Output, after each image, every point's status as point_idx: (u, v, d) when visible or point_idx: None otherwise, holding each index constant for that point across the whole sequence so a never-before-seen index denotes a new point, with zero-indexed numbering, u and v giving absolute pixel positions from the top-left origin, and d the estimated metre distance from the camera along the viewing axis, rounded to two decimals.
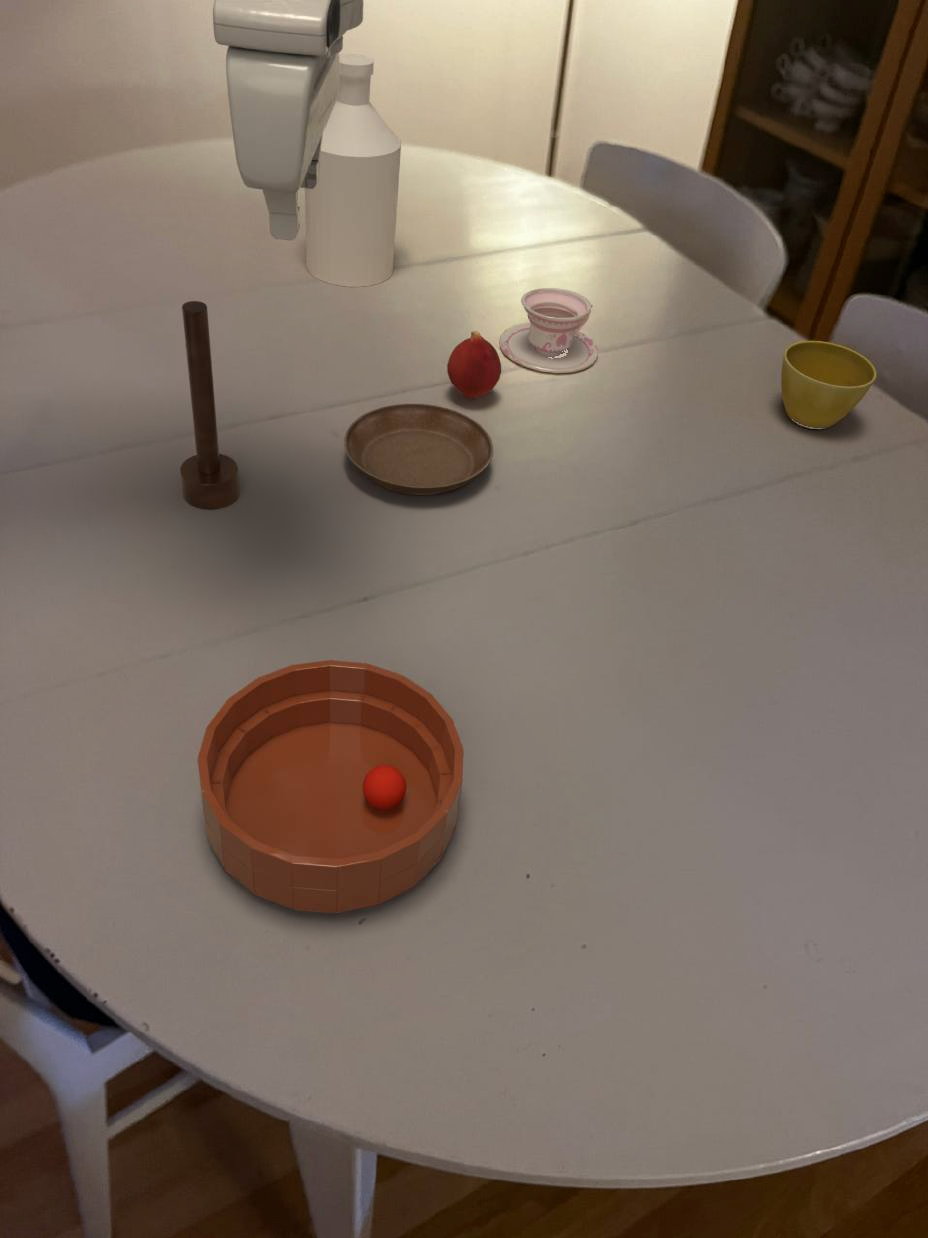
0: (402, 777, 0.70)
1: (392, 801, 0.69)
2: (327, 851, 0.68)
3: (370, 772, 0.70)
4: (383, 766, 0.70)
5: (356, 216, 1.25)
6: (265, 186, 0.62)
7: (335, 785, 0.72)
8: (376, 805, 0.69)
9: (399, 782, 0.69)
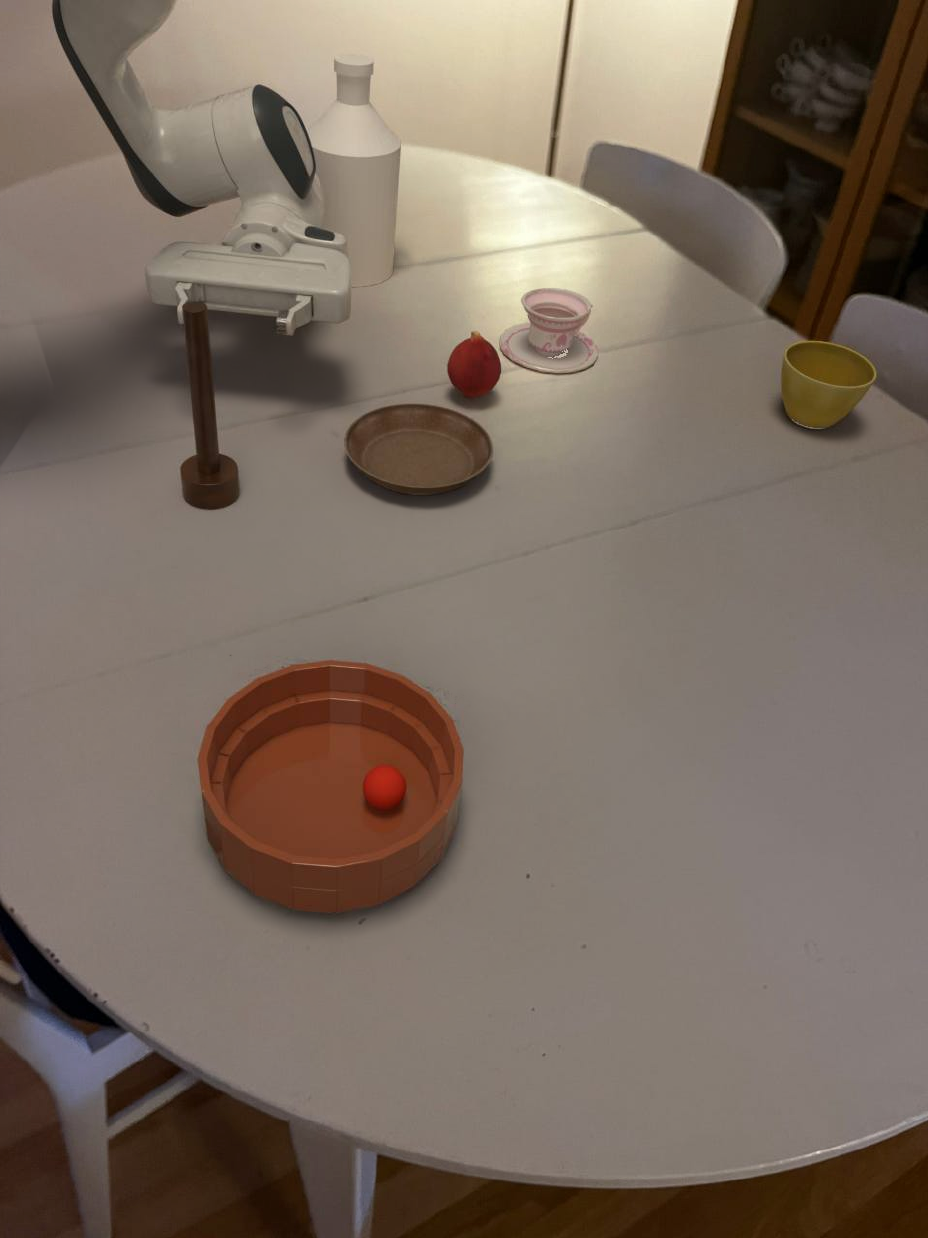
0: (402, 777, 0.70)
1: (392, 801, 0.69)
2: (327, 851, 0.68)
3: (370, 772, 0.70)
4: (383, 766, 0.70)
5: (356, 216, 1.25)
6: (344, 305, 1.00)
7: (335, 785, 0.72)
8: (376, 805, 0.69)
9: (399, 782, 0.69)
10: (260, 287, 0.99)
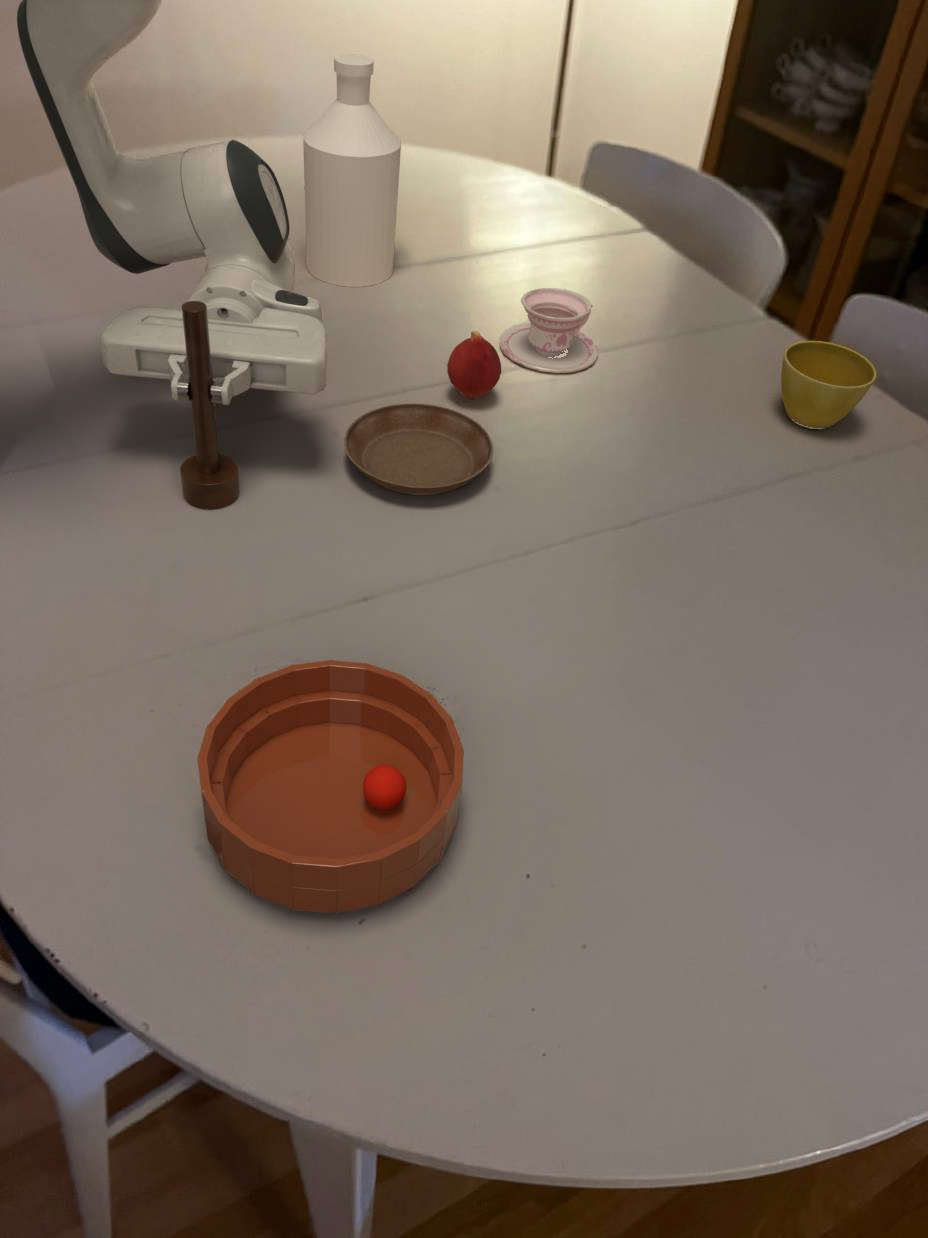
0: (402, 777, 0.70)
1: (392, 801, 0.69)
2: (327, 851, 0.68)
3: (370, 772, 0.70)
4: (383, 766, 0.70)
5: (356, 216, 1.25)
6: (320, 375, 0.92)
7: (335, 785, 0.72)
8: (376, 805, 0.69)
9: (399, 782, 0.69)
10: (227, 356, 0.91)
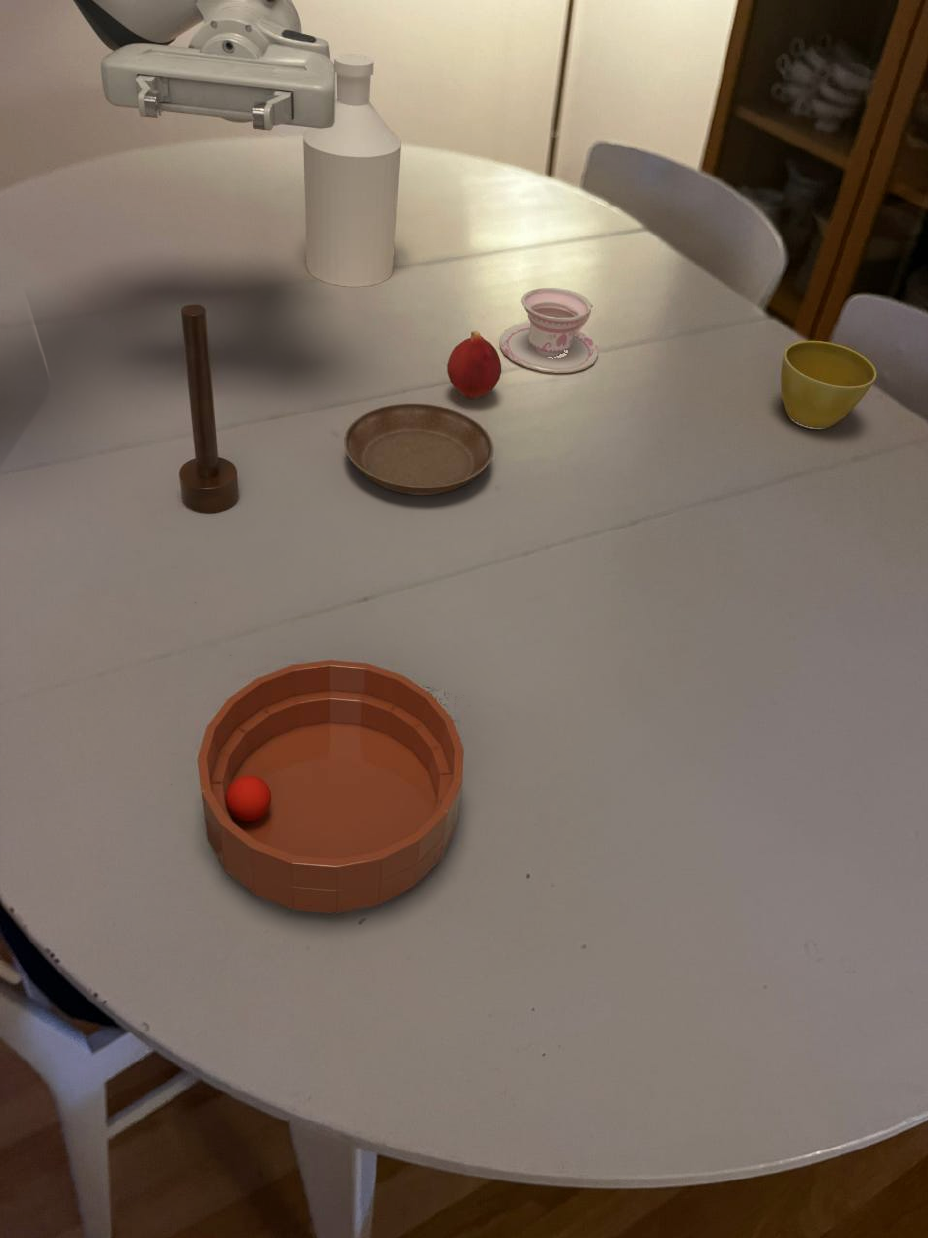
0: (267, 792, 0.68)
1: (247, 809, 0.67)
2: (327, 851, 0.68)
3: (239, 778, 0.68)
4: None
5: (356, 216, 1.25)
6: (329, 104, 0.89)
7: (335, 785, 0.72)
8: (231, 809, 0.67)
9: (261, 793, 0.67)
10: (233, 81, 0.87)
